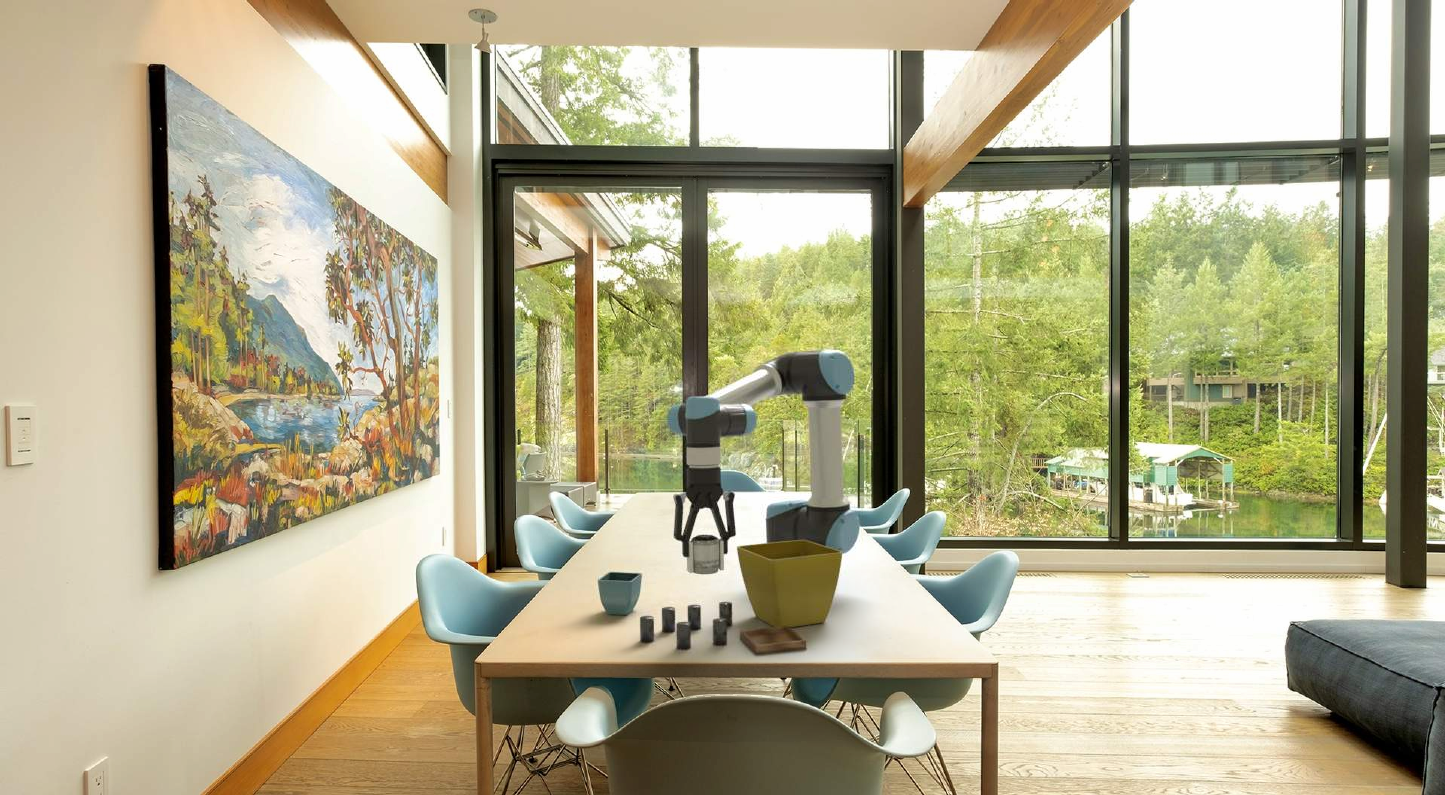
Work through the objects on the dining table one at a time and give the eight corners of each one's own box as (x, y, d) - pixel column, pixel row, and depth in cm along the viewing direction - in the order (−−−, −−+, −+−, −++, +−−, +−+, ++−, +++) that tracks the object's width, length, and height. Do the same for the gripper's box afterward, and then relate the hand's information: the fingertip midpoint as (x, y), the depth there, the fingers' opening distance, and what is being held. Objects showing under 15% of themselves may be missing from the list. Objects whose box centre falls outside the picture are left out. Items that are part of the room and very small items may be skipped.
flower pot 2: (736, 614, 191) (735, 545, 191) (804, 605, 199) (803, 538, 199) (771, 636, 174) (770, 560, 174) (845, 625, 181) (844, 552, 181)
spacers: (730, 622, 184) (729, 601, 184) (751, 642, 169) (750, 619, 169) (634, 632, 178) (634, 609, 178) (647, 653, 163) (647, 629, 163)
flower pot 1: (632, 618, 189) (631, 581, 189) (597, 616, 191) (596, 579, 190) (643, 608, 197) (642, 572, 197) (609, 607, 199) (609, 571, 199)
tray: (787, 634, 175) (787, 626, 175) (806, 649, 164) (806, 640, 164) (740, 639, 172) (740, 630, 172) (756, 655, 161) (756, 646, 161)
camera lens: (710, 576, 170) (709, 539, 170) (686, 573, 173) (685, 537, 173) (724, 569, 175) (724, 534, 175) (700, 567, 179) (700, 532, 178)
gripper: (740, 462, 180) (741, 563, 181) (657, 466, 175) (659, 570, 175) (750, 465, 173) (752, 570, 173) (664, 469, 168) (666, 577, 168)
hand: (705, 570), depth 174 cm, fingers closed on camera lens, 6 cm apart
